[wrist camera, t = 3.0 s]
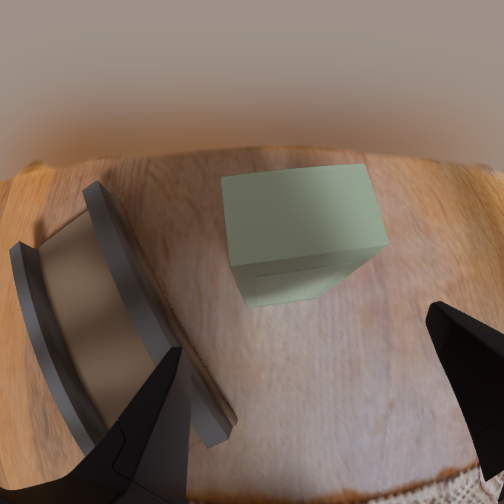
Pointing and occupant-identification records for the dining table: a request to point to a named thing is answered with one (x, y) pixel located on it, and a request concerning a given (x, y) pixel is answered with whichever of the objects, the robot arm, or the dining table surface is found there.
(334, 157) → the dining table surface
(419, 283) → the dining table surface
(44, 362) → the door track
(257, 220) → the sage green panelled box
